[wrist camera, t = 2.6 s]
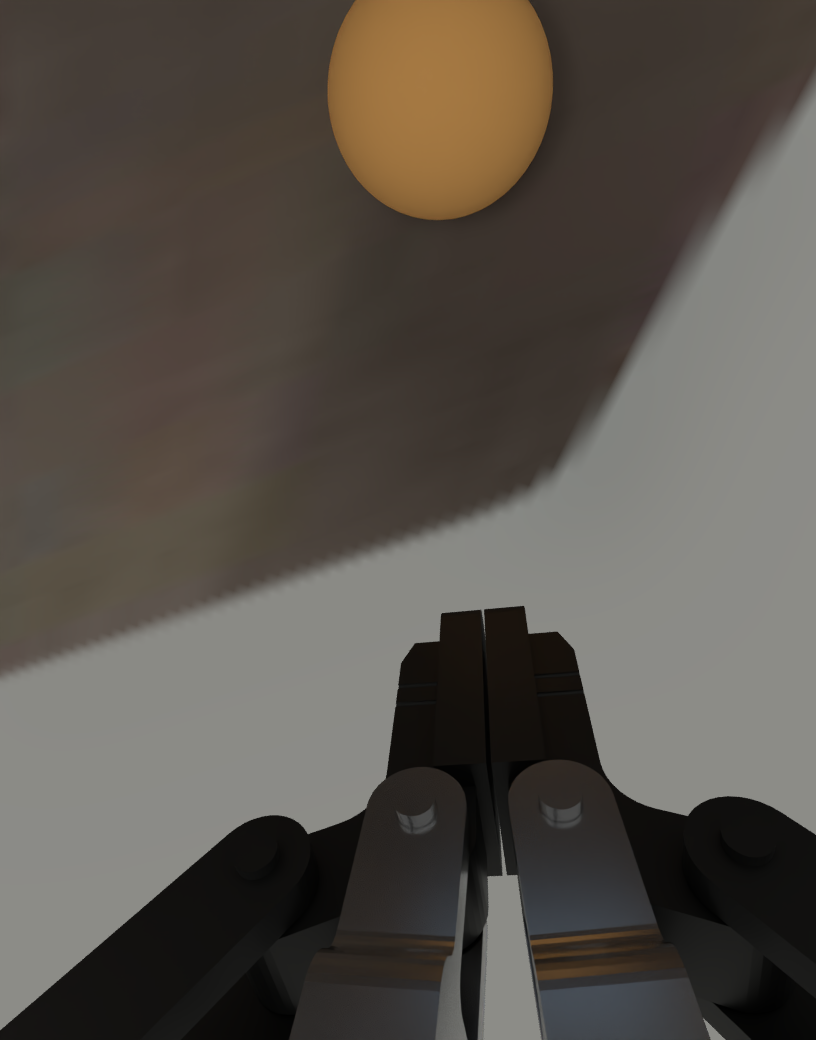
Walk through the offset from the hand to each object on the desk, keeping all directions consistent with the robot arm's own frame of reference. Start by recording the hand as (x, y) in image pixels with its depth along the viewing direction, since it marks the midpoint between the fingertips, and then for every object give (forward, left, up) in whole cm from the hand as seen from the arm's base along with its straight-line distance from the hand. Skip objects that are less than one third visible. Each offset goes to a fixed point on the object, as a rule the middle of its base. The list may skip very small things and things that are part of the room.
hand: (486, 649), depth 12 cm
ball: (-10, 0, -11) cm, 15 cm away
